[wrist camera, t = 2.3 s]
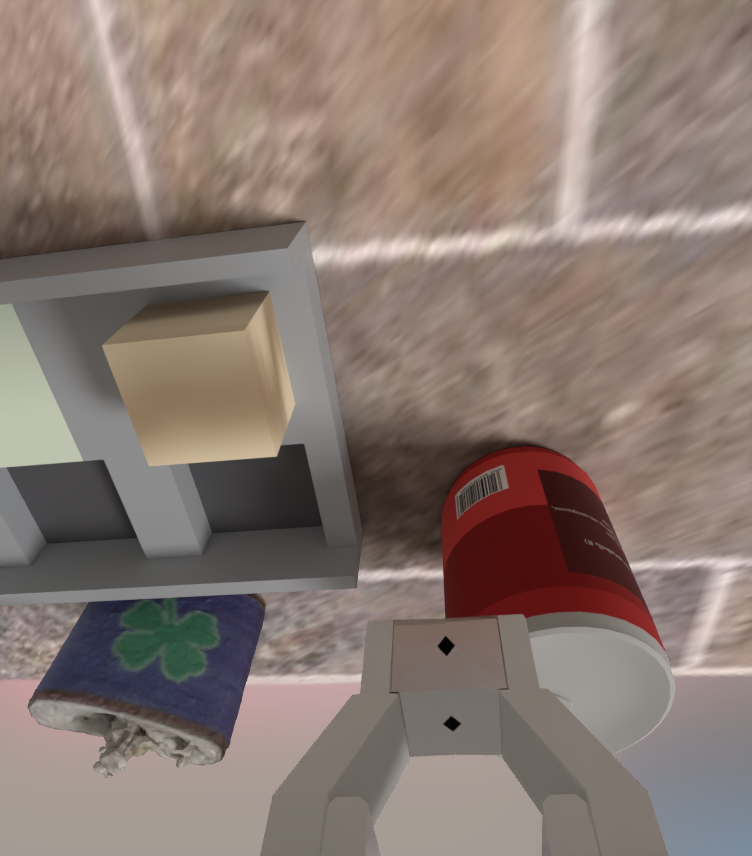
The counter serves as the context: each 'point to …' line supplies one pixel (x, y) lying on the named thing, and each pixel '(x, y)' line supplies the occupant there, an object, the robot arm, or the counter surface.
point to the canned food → (557, 587)
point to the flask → (154, 676)
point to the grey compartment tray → (120, 448)
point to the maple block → (204, 379)
